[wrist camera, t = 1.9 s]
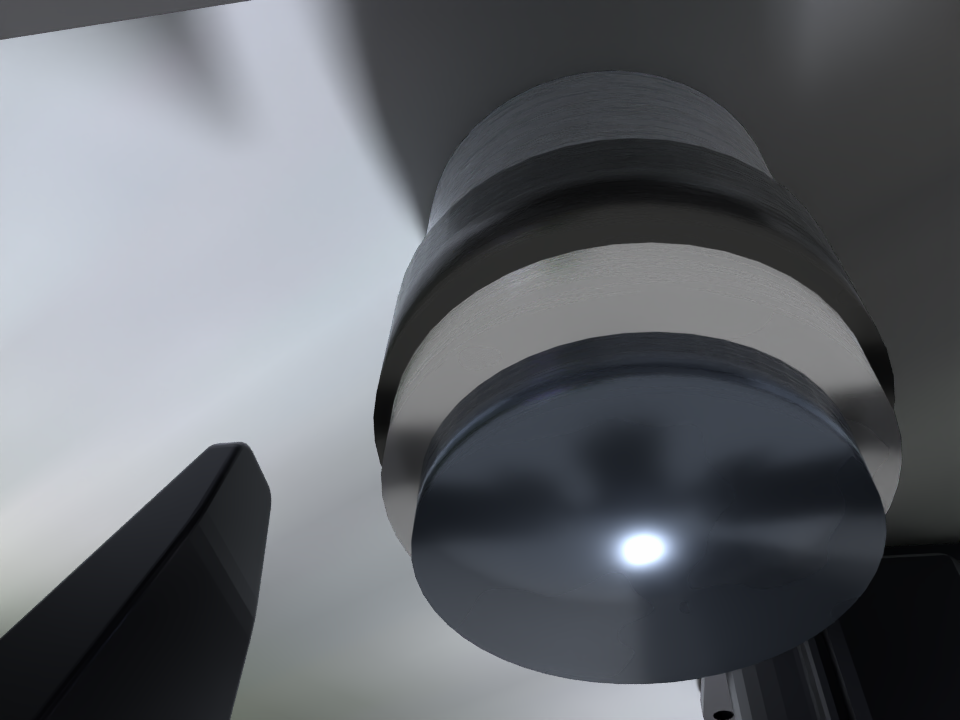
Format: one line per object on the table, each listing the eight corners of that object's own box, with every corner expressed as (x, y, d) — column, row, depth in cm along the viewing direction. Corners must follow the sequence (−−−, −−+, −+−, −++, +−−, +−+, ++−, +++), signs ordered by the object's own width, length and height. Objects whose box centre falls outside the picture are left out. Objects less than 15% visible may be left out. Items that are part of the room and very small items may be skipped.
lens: (772, 363, 14) (899, 702, 9) (451, 391, 14) (414, 716, 10) (806, 26, 10) (1042, 297, 5) (379, 86, 11) (267, 367, 6)
